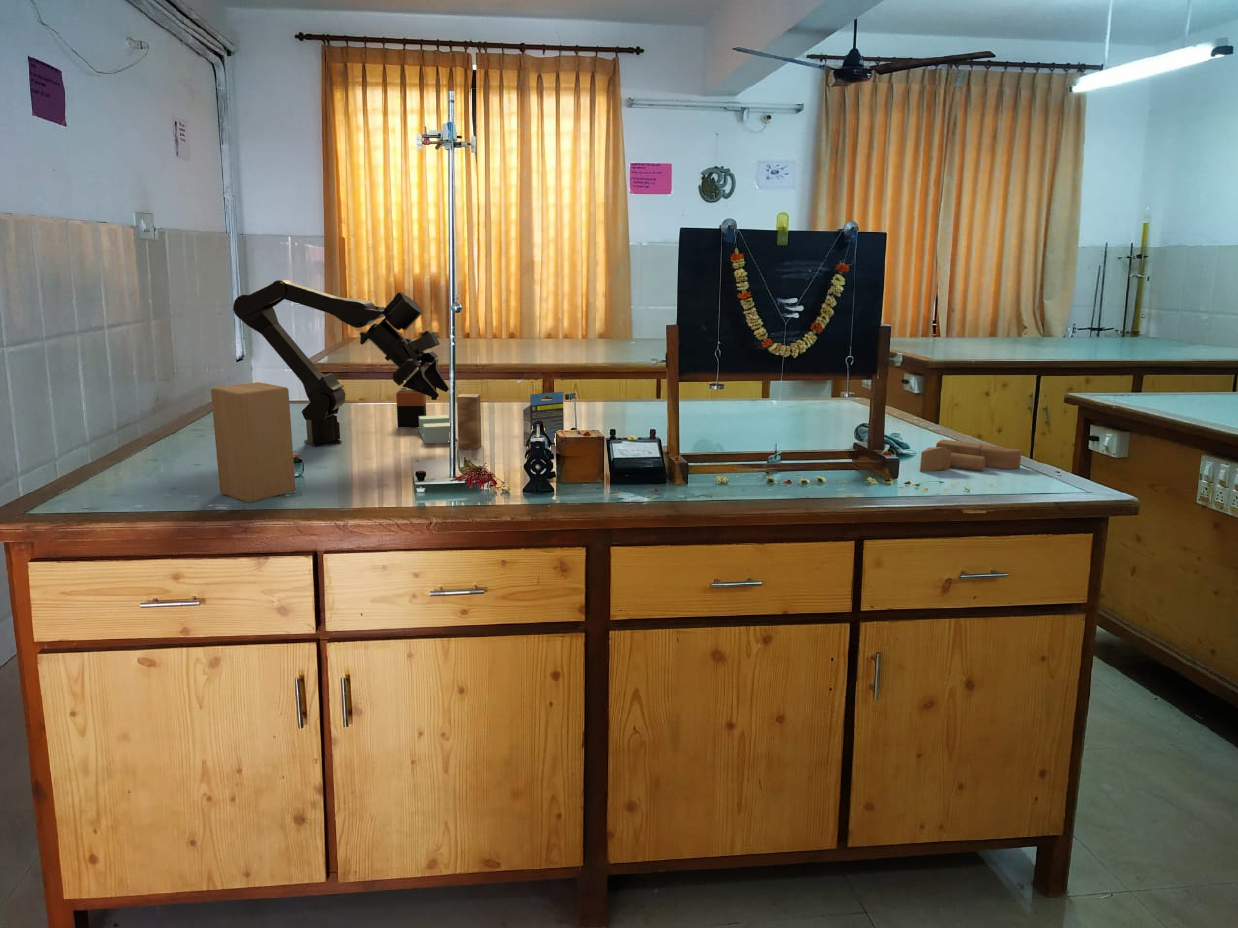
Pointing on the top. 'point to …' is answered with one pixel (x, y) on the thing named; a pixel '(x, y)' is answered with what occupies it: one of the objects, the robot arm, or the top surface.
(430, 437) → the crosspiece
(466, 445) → the slat
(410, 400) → the battery
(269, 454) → the wooden block
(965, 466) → the wooden block set
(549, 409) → the label tape cartridge
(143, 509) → the top surface
